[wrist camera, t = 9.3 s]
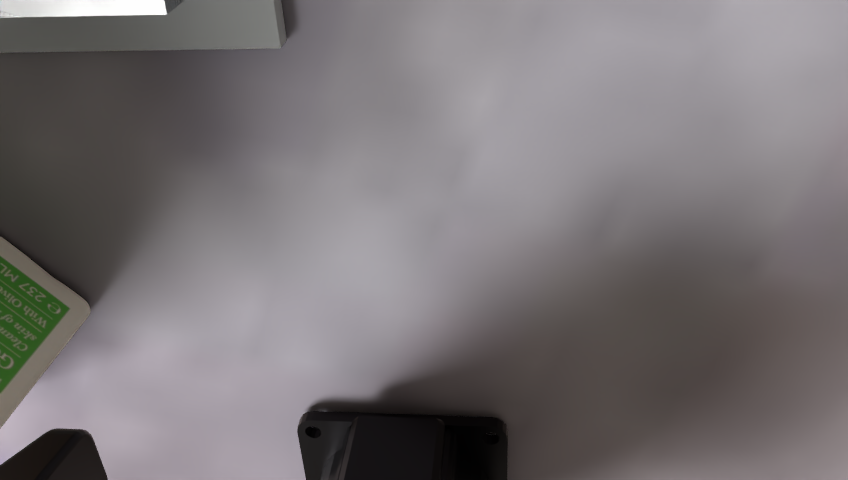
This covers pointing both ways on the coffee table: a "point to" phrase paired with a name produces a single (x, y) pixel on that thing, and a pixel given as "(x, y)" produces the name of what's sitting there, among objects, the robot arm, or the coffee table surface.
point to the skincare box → (31, 324)
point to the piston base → (153, 29)
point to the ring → (85, 7)
